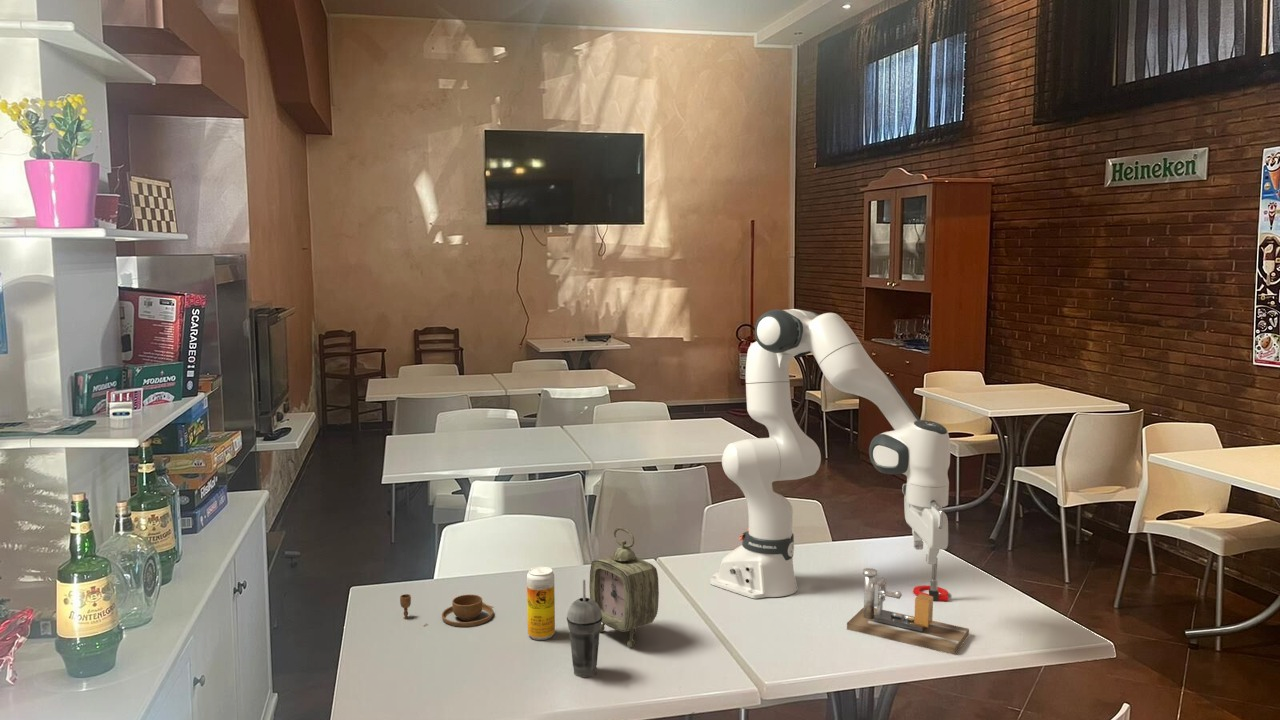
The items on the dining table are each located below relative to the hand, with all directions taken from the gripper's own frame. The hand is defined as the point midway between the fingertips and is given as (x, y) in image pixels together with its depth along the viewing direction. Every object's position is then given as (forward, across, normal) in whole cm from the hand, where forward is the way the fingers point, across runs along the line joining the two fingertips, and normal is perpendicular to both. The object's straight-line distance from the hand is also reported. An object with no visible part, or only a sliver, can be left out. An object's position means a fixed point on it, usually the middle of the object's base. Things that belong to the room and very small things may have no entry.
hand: (924, 555), depth 200 cm
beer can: (+19, -1, +85) cm, 87 cm away
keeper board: (+18, +2, +3) cm, 19 cm away
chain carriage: (+17, +2, +4) cm, 17 cm away
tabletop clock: (+19, -2, +66) cm, 69 cm away
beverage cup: (+19, -19, +74) cm, 79 cm away
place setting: (+20, +10, +108) cm, 110 cm away
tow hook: (+19, +24, -10) cm, 32 cm away
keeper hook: (+17, +5, +8) cm, 19 cm away
